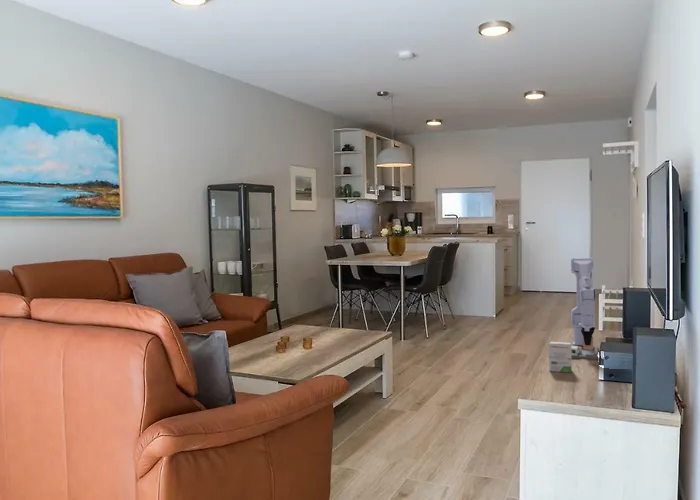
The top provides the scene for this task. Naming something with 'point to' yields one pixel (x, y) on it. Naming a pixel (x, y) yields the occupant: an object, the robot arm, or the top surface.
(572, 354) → the deck
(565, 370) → the ink box
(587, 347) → the block
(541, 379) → the top surface
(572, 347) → the cover
